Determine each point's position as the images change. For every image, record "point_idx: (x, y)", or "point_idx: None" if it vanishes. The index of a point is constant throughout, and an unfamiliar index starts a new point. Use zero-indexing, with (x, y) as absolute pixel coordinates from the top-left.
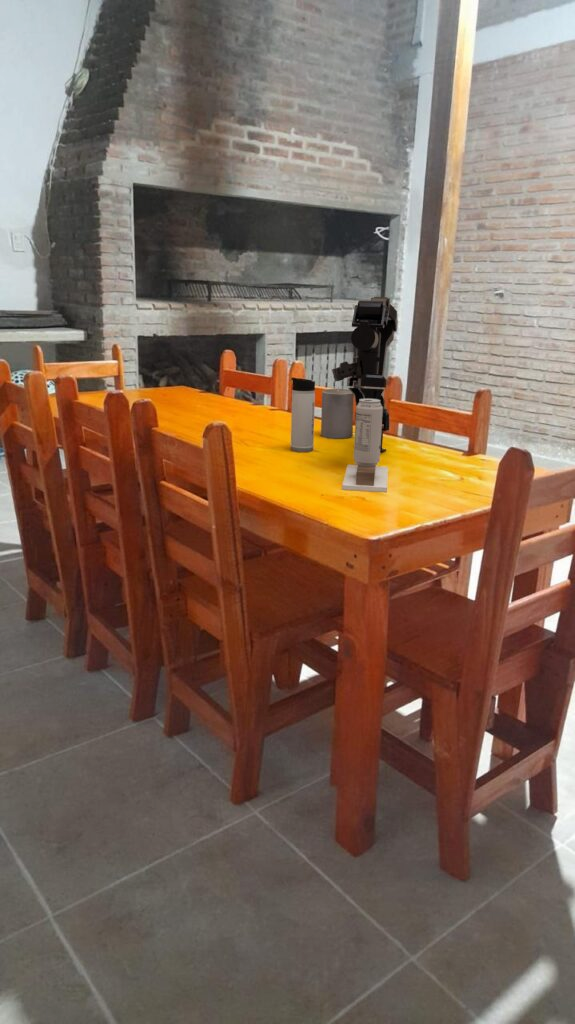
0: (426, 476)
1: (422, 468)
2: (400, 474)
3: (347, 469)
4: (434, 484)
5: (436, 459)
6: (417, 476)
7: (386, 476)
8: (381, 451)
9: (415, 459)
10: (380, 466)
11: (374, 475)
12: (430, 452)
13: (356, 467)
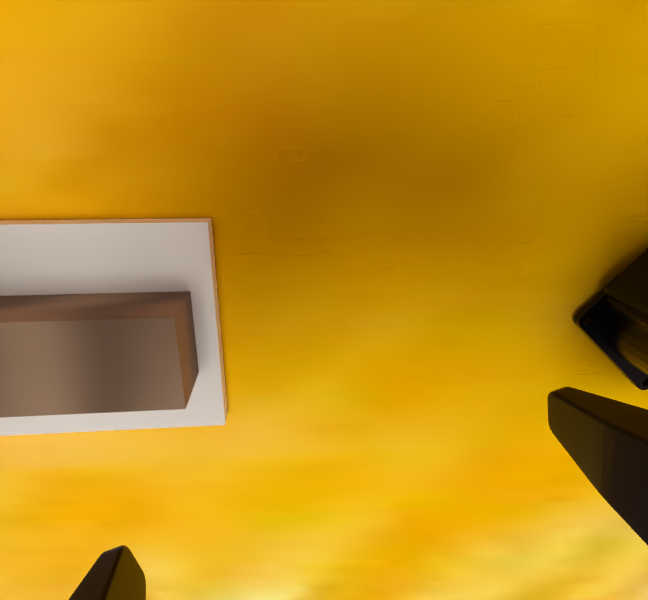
0: (176, 552)
1: (316, 533)
2: (175, 464)
3: (82, 230)
4: (51, 580)
5: (488, 569)
6: (163, 524)
7: (12, 430)
8: (618, 368)
9: (480, 503)
10: (221, 392)
11: None
12: (617, 546)
13: (154, 277)
